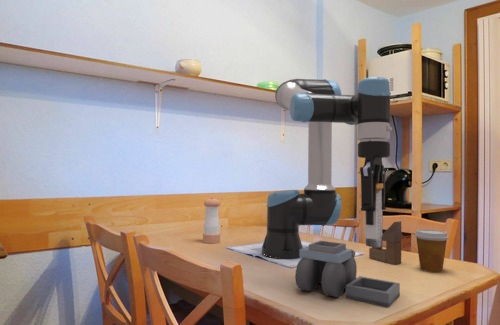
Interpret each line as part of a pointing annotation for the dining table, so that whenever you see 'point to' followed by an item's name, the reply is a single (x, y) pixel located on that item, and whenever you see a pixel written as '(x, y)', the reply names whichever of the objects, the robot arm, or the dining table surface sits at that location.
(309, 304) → the dining table surface
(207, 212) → the salt shaker
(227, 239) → the dining table surface
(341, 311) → the dining table surface
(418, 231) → the disposable coffee cup
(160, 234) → the dining table surface
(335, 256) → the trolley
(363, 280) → the tray
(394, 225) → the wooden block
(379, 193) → the capped glass tube
